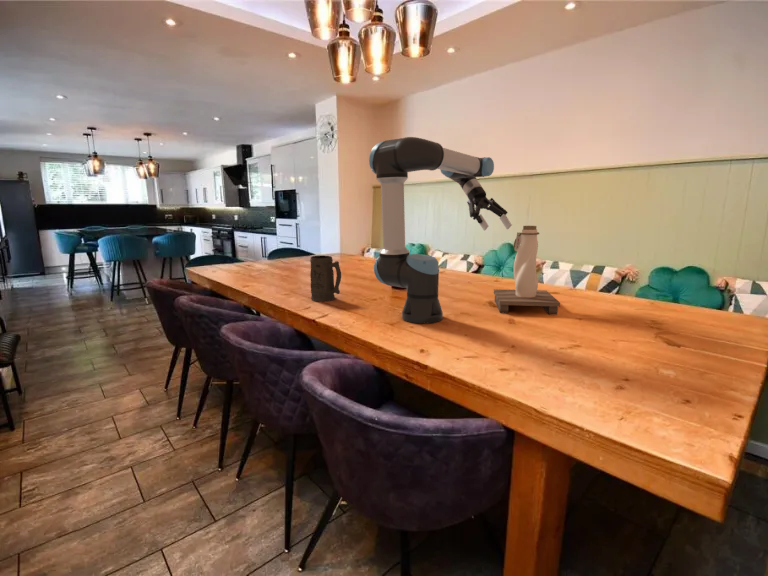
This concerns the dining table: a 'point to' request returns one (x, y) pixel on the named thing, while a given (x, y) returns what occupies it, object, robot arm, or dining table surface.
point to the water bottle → (526, 262)
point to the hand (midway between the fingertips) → (498, 227)
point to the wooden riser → (526, 300)
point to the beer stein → (324, 278)
